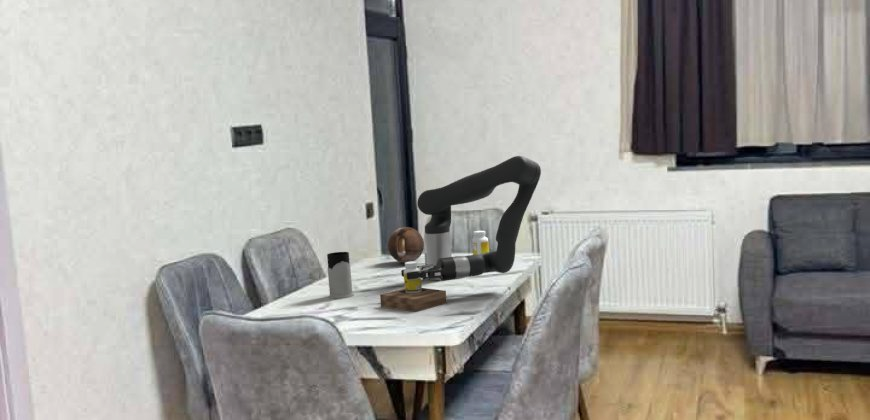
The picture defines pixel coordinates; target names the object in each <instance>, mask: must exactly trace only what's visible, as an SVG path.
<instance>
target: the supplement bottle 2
mask: <svg viewBox="0 0 870 420" xmlns="http://www.w3.org/2000/svg"><path fill="white" fill-rule="evenodd" d="M473 236H474V237H472V239H471V248H472V255H479V254H483V253H487V252H490V245H489V238H488V236H487V237H486V231H485V230H476V231H475V230H474V231H473Z"/></svg>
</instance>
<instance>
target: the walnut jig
mask: <svg viewBox="0 0 870 420" xmlns="http://www.w3.org/2000/svg"><path fill="white" fill-rule="evenodd" d="M379 296H380V297H379V299H380V307H382V308H388V309H395V310H402V311H408V312H414V313H415V312H416V313H417V312H420V311H424V310H426V309H431V308H433V307H437V306H441V305H444V304H447V303H448V302H447V291H446V290H442V289H434V288H427V287H425V288H424V287H422V291H421V292H418V293H412V294H410V293H406V292H405V287H404V288H401V289H396V290H392V291H388V292H385V293H380V294H379Z"/></svg>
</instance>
